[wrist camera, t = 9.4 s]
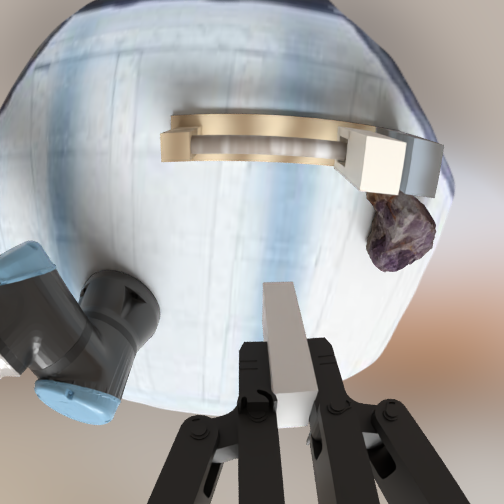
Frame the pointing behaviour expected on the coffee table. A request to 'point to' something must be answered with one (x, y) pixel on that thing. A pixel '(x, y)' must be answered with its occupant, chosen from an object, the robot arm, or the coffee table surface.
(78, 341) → the robot arm
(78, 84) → the coffee table surface
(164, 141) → the rail
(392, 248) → the rock
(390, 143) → the sleeve
